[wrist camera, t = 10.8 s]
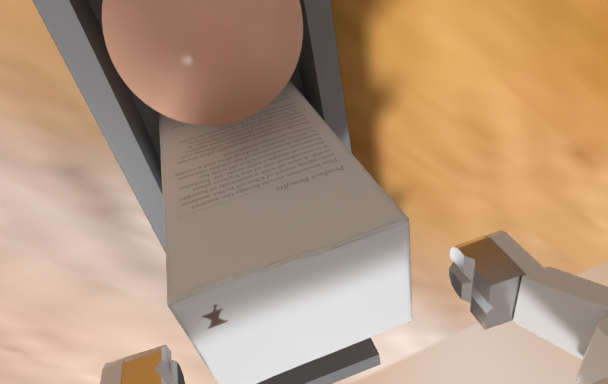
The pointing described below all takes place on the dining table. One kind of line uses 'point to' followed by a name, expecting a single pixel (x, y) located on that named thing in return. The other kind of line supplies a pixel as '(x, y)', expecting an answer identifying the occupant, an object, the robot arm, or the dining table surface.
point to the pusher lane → (146, 136)
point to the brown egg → (204, 54)
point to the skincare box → (277, 241)
